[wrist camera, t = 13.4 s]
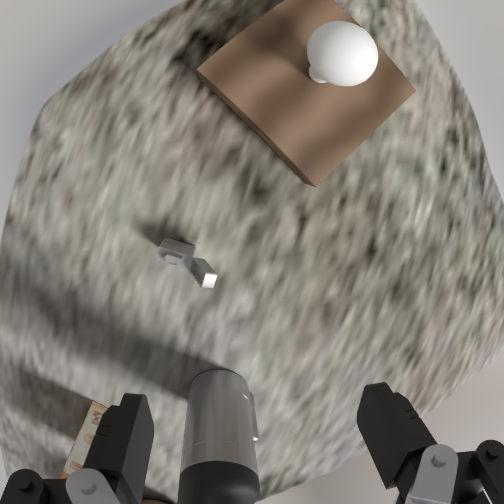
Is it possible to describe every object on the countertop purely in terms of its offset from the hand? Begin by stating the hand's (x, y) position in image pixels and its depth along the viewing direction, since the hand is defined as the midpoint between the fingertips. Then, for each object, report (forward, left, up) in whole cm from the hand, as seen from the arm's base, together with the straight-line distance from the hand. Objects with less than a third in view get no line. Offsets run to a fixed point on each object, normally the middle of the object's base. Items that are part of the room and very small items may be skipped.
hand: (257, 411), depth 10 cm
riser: (+7, -19, -30) cm, 36 cm away
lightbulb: (+7, -19, -25) cm, 32 cm away
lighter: (+2, +6, -30) cm, 31 cm away
